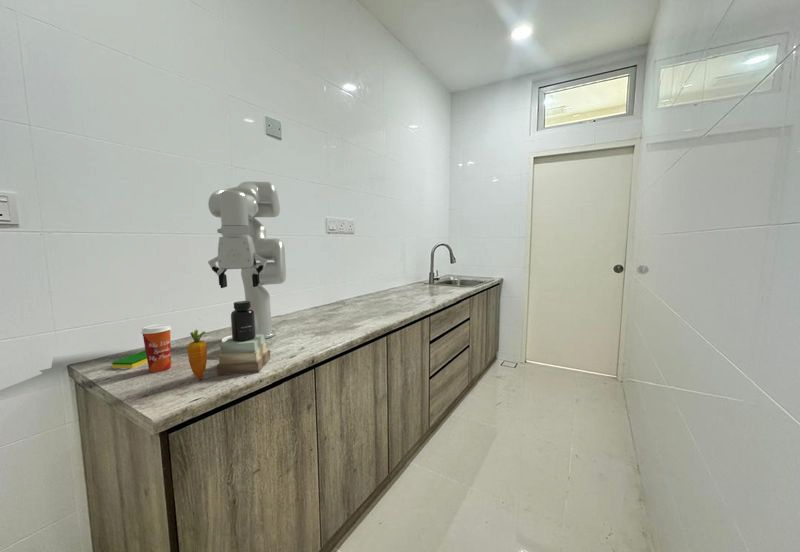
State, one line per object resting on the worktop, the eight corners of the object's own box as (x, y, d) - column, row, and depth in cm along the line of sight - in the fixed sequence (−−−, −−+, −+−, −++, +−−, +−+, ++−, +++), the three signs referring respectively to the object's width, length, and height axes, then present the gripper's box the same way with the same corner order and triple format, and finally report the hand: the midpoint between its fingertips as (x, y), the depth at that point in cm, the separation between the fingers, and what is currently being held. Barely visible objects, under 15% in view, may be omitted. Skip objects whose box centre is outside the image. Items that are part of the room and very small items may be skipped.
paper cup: (151, 375, 99) (147, 330, 97) (140, 370, 103) (136, 327, 101) (179, 367, 105) (175, 324, 104) (168, 362, 109) (164, 322, 108)
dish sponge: (111, 369, 105) (110, 362, 105) (148, 355, 119) (147, 348, 119) (131, 370, 105) (131, 363, 105) (166, 355, 118) (165, 349, 118)
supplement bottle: (246, 342, 100) (243, 304, 99) (227, 341, 101) (224, 303, 100) (260, 336, 106) (258, 300, 105) (242, 335, 108) (239, 299, 107)
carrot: (195, 376, 97) (191, 327, 96) (212, 375, 97) (208, 326, 96) (186, 383, 92) (181, 332, 91) (204, 382, 92) (200, 331, 91)
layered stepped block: (233, 360, 110) (231, 334, 109) (270, 358, 111) (268, 333, 110) (217, 374, 98) (215, 345, 97) (258, 372, 99) (256, 343, 98)
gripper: (200, 232, 96) (205, 289, 98) (260, 231, 97) (264, 287, 99) (212, 233, 103) (216, 286, 105) (268, 232, 105) (271, 284, 107)
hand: (239, 286), depth 102 cm, fingers open, 9 cm apart
